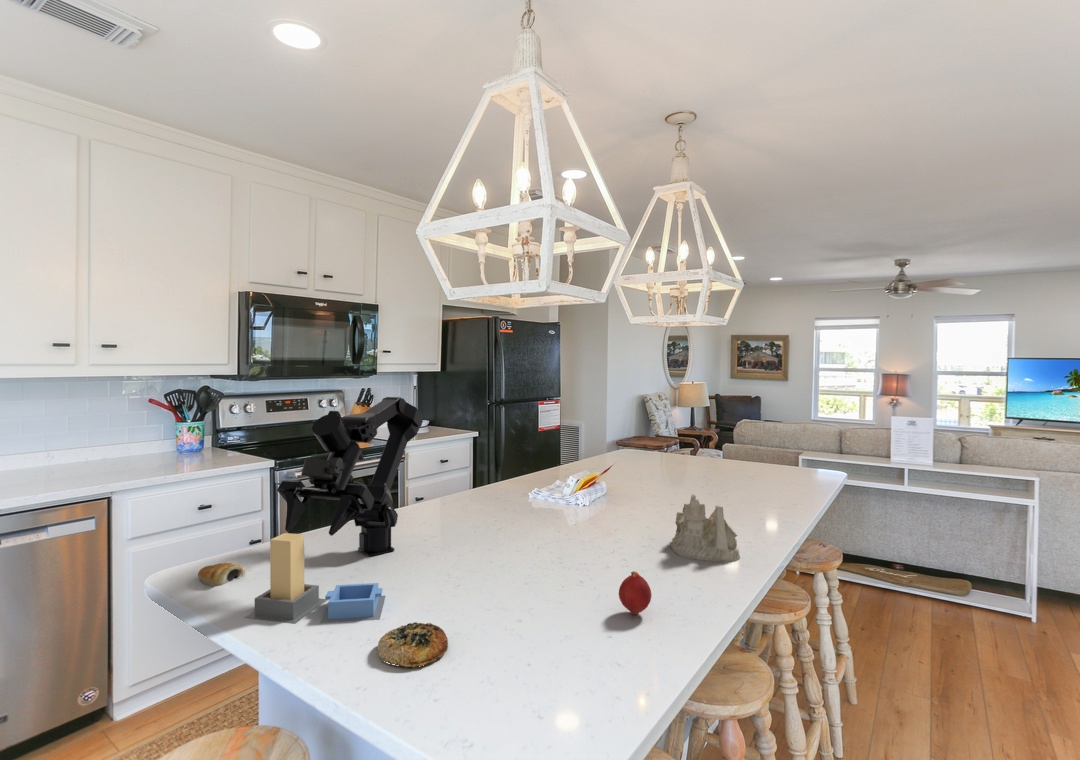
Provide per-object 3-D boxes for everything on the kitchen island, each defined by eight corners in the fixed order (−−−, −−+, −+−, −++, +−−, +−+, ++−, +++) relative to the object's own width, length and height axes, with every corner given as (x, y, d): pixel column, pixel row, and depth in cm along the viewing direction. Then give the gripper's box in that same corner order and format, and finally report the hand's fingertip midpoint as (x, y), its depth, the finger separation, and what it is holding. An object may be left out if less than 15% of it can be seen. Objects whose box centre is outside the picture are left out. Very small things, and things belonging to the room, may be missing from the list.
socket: (280, 597, 108) (280, 579, 107) (328, 602, 106) (328, 583, 106) (243, 621, 98) (243, 600, 98) (295, 626, 96) (295, 606, 96)
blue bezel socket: (330, 601, 106) (331, 582, 106) (385, 598, 108) (385, 580, 108) (319, 626, 96) (319, 605, 96) (379, 622, 98) (379, 602, 98)
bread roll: (452, 633, 94) (451, 606, 93) (443, 679, 83) (441, 648, 83) (386, 636, 94) (384, 608, 93) (368, 682, 83) (365, 651, 82)
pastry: (188, 582, 115) (188, 564, 115) (218, 571, 121) (218, 554, 121) (220, 590, 111) (220, 571, 111) (249, 578, 117) (249, 560, 117)
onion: (629, 604, 107) (629, 562, 106) (656, 613, 103) (657, 570, 103) (612, 614, 102) (613, 571, 102) (640, 624, 98) (641, 579, 98)
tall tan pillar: (284, 602, 104) (284, 533, 104) (304, 604, 103) (304, 534, 103) (270, 611, 100) (270, 539, 100) (290, 614, 99) (290, 541, 99)
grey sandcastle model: (740, 564, 128) (739, 498, 129) (667, 558, 134) (666, 494, 134) (739, 547, 143) (738, 488, 144) (673, 542, 148) (673, 485, 149)
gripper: (282, 440, 114) (244, 507, 104) (367, 444, 111) (336, 514, 100) (305, 471, 122) (272, 537, 112) (385, 476, 119) (358, 544, 108)
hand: (308, 532), depth 108 cm, fingers open, 9 cm apart
